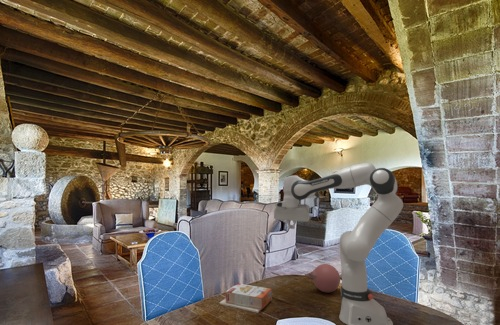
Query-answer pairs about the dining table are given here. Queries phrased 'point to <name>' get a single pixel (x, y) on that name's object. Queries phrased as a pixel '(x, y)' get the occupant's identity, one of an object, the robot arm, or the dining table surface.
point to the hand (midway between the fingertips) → (291, 228)
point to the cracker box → (249, 296)
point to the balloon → (325, 278)
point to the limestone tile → (239, 306)
